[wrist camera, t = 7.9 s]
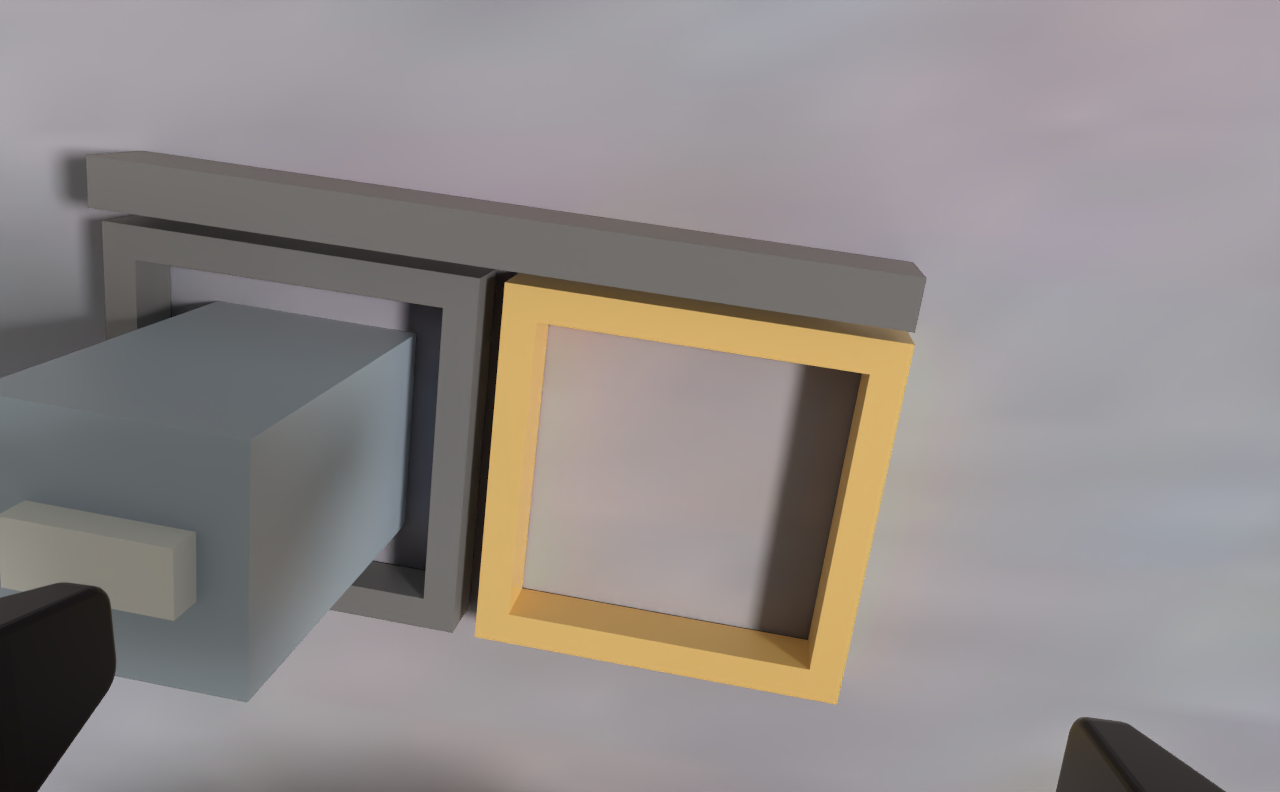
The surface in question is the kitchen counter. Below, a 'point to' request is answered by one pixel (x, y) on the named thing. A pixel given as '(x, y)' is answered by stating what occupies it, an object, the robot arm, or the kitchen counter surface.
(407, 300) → the cubby shelf with drawer
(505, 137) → the kitchen counter surface
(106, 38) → the kitchen counter surface
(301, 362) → the blue-grey box
